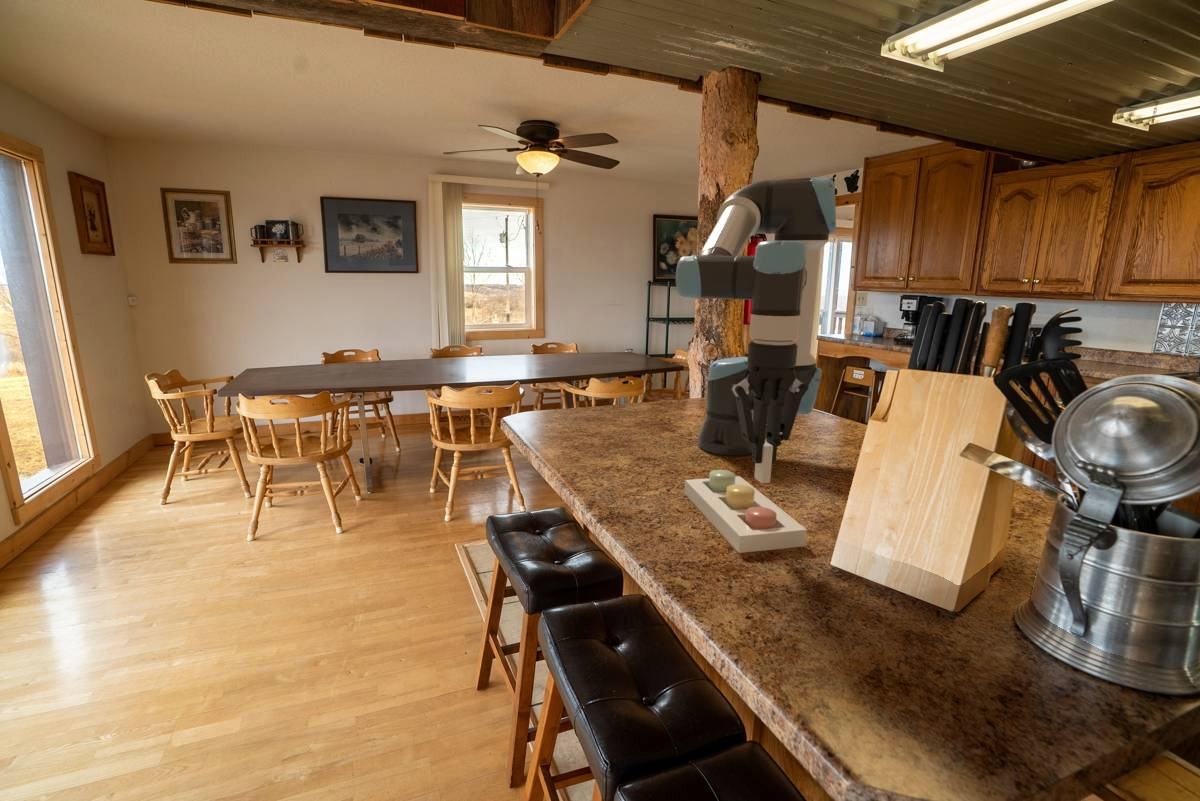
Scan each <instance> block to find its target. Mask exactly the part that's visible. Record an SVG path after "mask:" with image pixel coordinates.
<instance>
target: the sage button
mask: <svg viewBox="0 0 1200 801" xmlns="http://www.w3.org/2000/svg"><path fill="white" fill-rule="evenodd" d="M735 476H736V474H735V472H733V471H730V470H725V469H714V470H711V471H710V472H709V477H708V478H709V489H710V490H711V491H713V492H717V493H721V492H726V491H727V487H728V486H730V485H735Z"/></svg>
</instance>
